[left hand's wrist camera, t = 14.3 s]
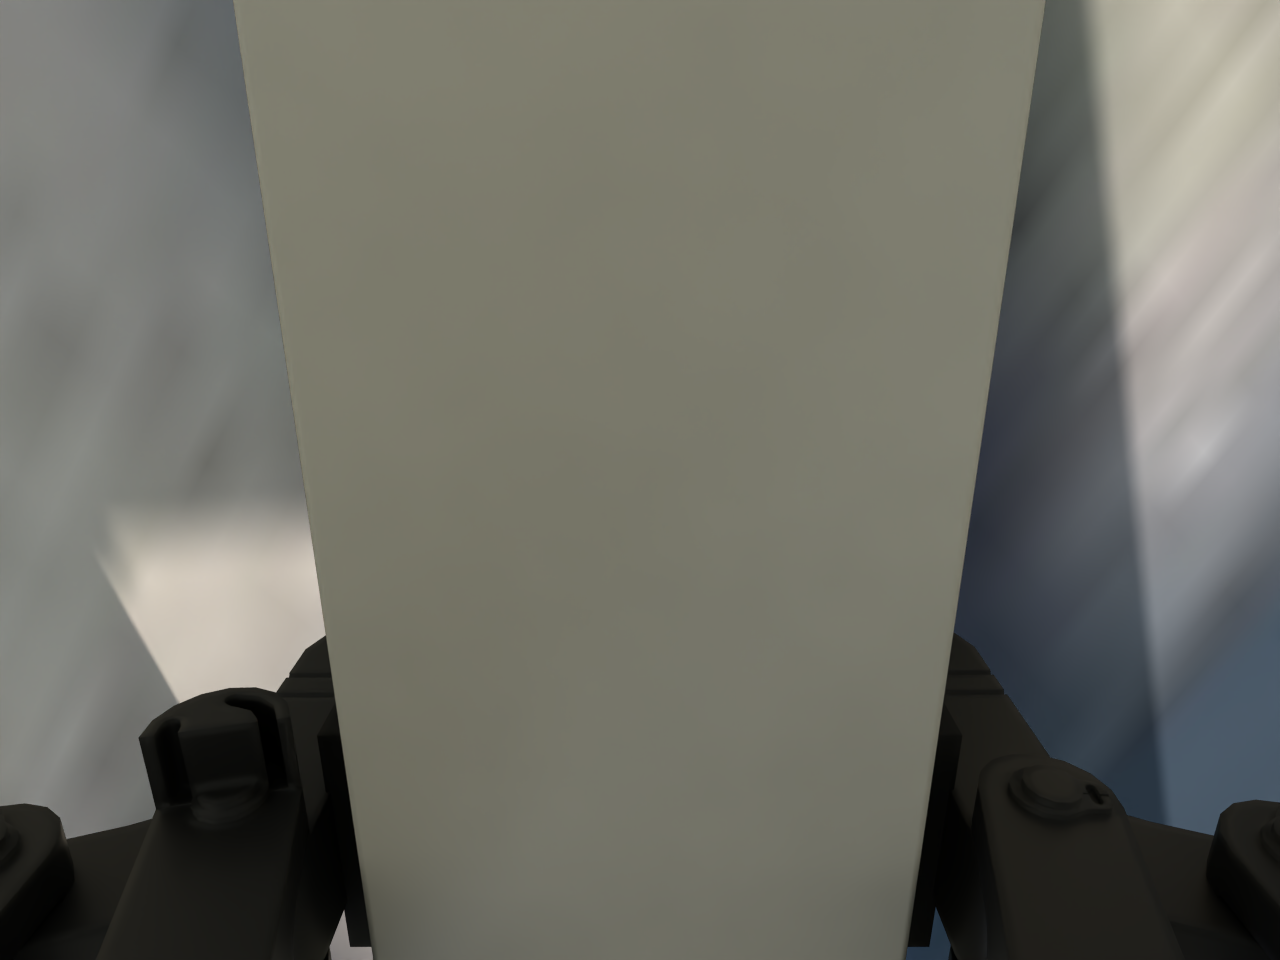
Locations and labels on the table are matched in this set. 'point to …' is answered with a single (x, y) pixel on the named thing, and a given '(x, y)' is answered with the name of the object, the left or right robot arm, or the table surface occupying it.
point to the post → (639, 446)
